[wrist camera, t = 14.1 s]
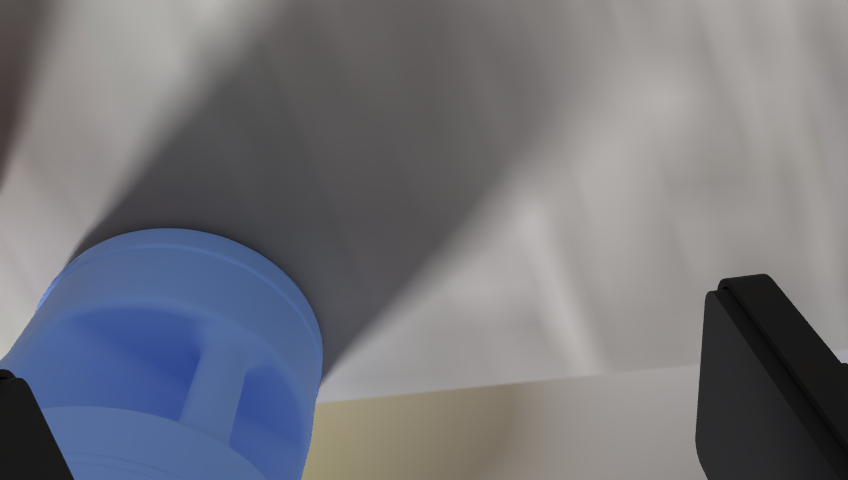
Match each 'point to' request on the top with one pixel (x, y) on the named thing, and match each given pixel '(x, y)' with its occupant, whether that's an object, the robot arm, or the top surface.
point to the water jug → (174, 361)
